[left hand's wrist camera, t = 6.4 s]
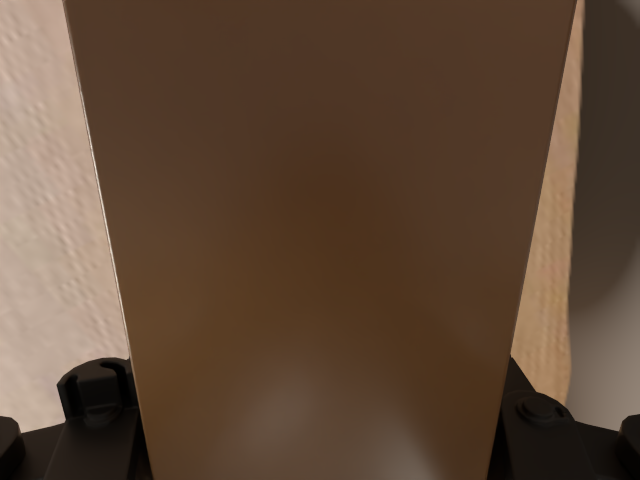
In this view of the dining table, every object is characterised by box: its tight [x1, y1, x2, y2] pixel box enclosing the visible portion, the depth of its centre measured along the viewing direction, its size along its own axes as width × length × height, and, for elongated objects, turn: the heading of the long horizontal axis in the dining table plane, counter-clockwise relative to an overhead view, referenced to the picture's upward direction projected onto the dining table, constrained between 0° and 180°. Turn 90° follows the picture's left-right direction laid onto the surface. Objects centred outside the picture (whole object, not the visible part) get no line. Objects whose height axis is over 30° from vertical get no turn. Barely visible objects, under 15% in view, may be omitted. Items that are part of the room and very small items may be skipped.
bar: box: [62, 0, 577, 480], centre depth 9 cm, size 21×5×9 cm, turn 0°
